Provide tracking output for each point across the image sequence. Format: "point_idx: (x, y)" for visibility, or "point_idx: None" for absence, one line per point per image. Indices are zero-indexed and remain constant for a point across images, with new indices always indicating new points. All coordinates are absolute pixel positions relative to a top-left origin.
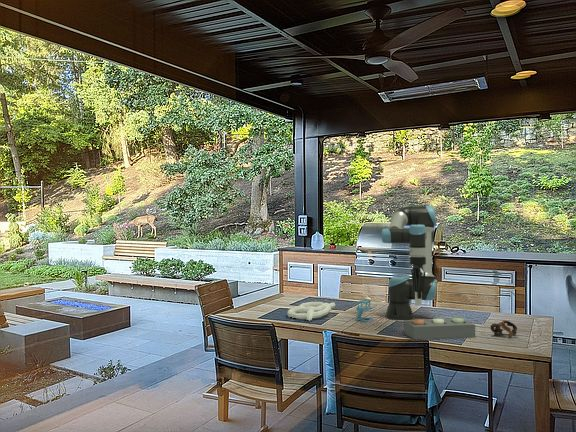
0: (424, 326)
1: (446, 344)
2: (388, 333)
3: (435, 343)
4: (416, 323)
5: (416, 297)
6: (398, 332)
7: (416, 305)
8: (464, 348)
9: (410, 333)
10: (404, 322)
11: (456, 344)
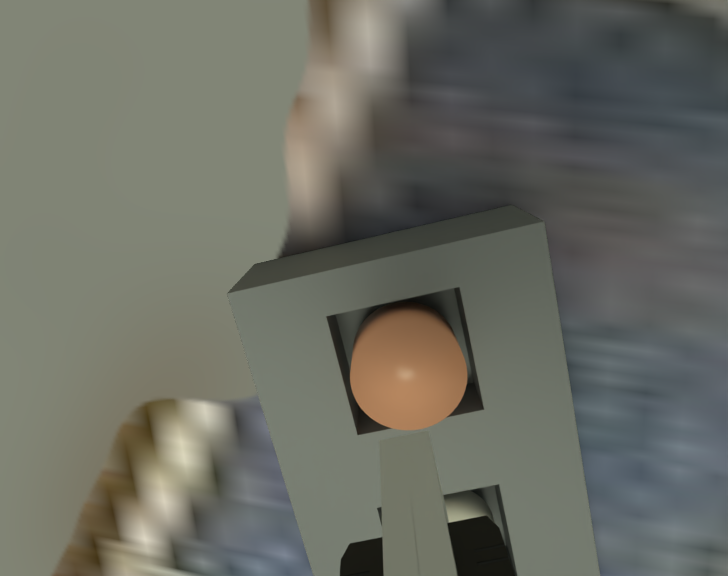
0: (262, 396)
1: (151, 476)
2: (479, 46)
3: (166, 407)
4: (361, 338)
5: (384, 531)
6: (522, 153)
7: (379, 443)
8: (66, 563)
9: (340, 250)
10: (516, 224)
11: (163, 538)
